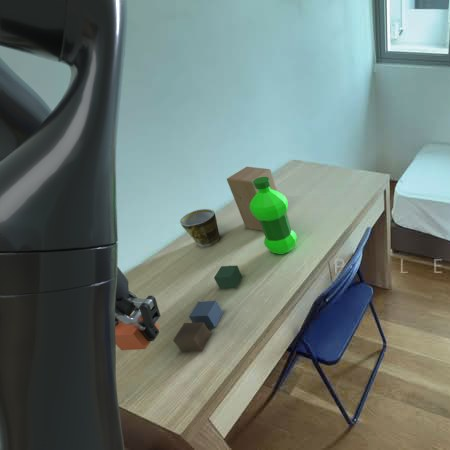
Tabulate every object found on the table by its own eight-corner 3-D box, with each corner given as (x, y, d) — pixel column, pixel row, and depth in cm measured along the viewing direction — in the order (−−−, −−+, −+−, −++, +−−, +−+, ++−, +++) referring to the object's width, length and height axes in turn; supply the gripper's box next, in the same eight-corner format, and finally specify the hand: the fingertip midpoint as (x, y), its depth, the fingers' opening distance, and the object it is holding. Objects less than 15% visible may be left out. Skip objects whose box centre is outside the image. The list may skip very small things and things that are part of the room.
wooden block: (245, 228, 111) (225, 178, 99) (263, 214, 119) (246, 165, 107) (269, 232, 108) (251, 181, 97) (285, 217, 116) (270, 168, 105)
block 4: (236, 288, 87) (230, 276, 84) (220, 289, 87) (213, 277, 84) (242, 277, 90) (237, 265, 88) (227, 277, 90) (221, 266, 88)
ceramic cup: (197, 235, 109) (185, 211, 103) (227, 230, 111) (217, 206, 105) (186, 258, 98) (172, 233, 92) (220, 252, 100) (208, 227, 94)
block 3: (202, 351, 71) (193, 339, 68) (182, 352, 71) (172, 340, 68) (211, 334, 74) (203, 322, 72) (192, 335, 74) (184, 323, 72)
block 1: (145, 349, 58) (132, 334, 55) (121, 350, 58) (107, 335, 55) (160, 328, 62) (148, 313, 59) (137, 329, 62) (124, 315, 59)
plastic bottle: (276, 238, 105) (253, 171, 91) (305, 240, 104) (286, 173, 89) (260, 257, 97) (233, 187, 83) (291, 260, 96) (269, 189, 81)
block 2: (215, 327, 76) (207, 315, 73) (196, 328, 76) (188, 316, 73) (223, 312, 80) (216, 300, 77) (205, 313, 80) (198, 301, 77)
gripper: (145, 256, 53) (187, 320, 63) (61, 261, 53) (117, 324, 63) (114, 288, 47) (166, 353, 57) (19, 294, 47) (88, 358, 57)
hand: (140, 338), depth 60 cm, fingers closed on block 1, 4 cm apart
